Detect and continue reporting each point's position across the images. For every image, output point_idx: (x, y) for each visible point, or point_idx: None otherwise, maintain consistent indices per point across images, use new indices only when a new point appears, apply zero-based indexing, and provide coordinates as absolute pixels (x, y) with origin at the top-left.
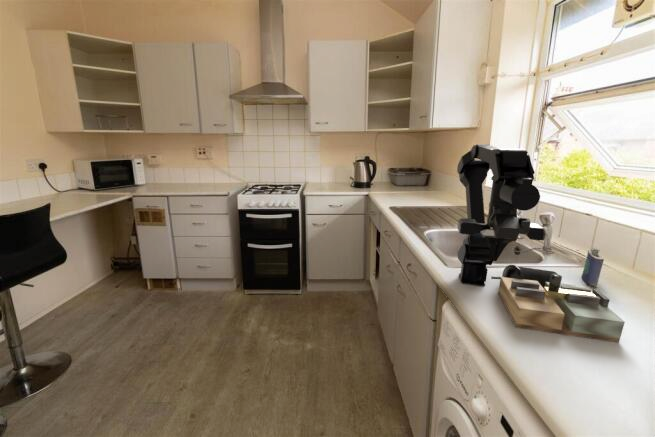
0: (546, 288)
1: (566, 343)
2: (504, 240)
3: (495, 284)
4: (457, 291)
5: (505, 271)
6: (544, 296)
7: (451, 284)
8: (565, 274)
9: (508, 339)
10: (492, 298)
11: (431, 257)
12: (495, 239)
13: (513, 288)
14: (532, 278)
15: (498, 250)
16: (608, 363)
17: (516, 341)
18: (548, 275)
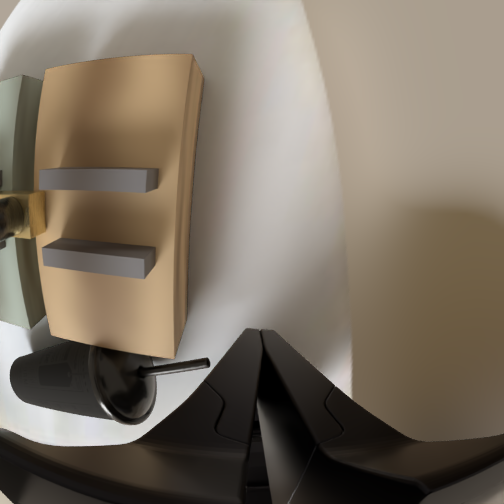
0: (28, 223)
1: (94, 40)
2: (218, 486)
3: (180, 375)
4: (336, 305)
5: (145, 404)
6: (52, 168)
7: (338, 350)
8: (19, 415)
9: (257, 13)
10: (219, 276)
11: None
12: (428, 467)
13: (148, 246)
14: (64, 358)
15: (252, 384)
16: (55, 4)
17: (235, 8)
18: (26, 376)
